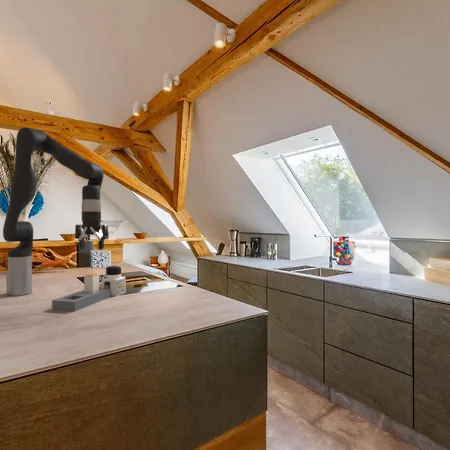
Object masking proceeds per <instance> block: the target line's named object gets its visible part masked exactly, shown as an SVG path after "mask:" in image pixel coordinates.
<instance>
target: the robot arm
mask: <svg viewBox="0 0 450 450" xmlns="http://www.w3.org/2000/svg"><path fill="white" fill-rule="evenodd" d="M33 151H35V152H43V153H46V154H49V155H50V156H52V157H53V158H54V159H55V160H56V161H57V162H58V163H59V164H60V165H62V166H63V167H66V168H67V169H69V170H70V171H72V172H74V173H75V175H77V176H78V177H80V178H82V179H84V180H88V181H87V185H83V187H82V188H81V222H82V224H81V223H80V224H75V230H74V238H75V240H79V249H80V250H85V249H86V238H87V237H88V236H95V237H96V238H97V239H98V241H97V242H98V245H97V246H98V247H97V248H98V250H99V251H100V250H101V251H102V250H104V247H105V240H107V239H109V226H108V224H101V222H102V204H101V188H102V185H103V180H104V174H105V173H104V170H103V168H102V166H101V165H100V164H98V163H93V162H89V161H88V160H86V159H84V158H83V157H82V156H81V155H80V154H78V153H76V152H74V151H72V150H70V149H68V148H66V147H65V146H63V145H61V144H60V143H59V142H57V141H56V140H54V139H53V138H52V137H51V136H49V135H48V134H47V133H45V132H44V131H42V130H40V129H36V128H30V127H27V126H26V127H21V128H20V129H19V130H18V132H17V134H16V139H15V159H14V162H15V163H14V168H13V170H14V171H13V175H12V181H11V185H10V186H11V187H10V195H9V203H8V207H7V212H6V216H5V219H4V223H3V227H2V237H3V239H4V241H6V242H8V243H9V242H10V243H13V242H14V243H15V242H17V243H18V242H19V244H18V245H16V247H14V248H11V249H9V250H8V251H7V273H6V274H5V275H6V276H5V277H6V278H5V279H6V295H8V296H11V297H12V296H13V297H14V296H15V297H16V296H25V295H29V294H32V293H33V260H32V258H33V257H32V253H33V249H34V248H33V247H34V227H33V226H34V225H33V224H32V223H31V222H30V221H27V220H23V221H22V220H21V221H19V218H20V216H21V214H22V212H23V210H24V209H25V208H26V207H27V206H28V205H29V204H30V202H31V201H33V199H34V198H35V196H36V190H37V185H38V181H37V175H36V174H35V171H34V168H33V165H32V154H33Z"/></svg>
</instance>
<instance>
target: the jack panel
mask: <svg viewBox="0 0 450 450" xmlns="http://www.w3.org/2000/svg"><path fill="white" fill-rule="evenodd" d="M109 298H111V296H110V289H101V288H100V287H99V291H97V292H95V293H85V291H84V289H83V290H80V291H76V292H73V293H71V294H66V295H64V296H60V297H59V298H54V299H52V300H51V310H52V311H64V312H77V311H81V310H83V309H85V308H87V307H90V306H92V305H94V304H97V303H99V302H102V301H104V300H107V299H109Z"/></svg>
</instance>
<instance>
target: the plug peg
mask: <svg viewBox="0 0 450 450" xmlns="http://www.w3.org/2000/svg"><path fill="white" fill-rule="evenodd" d="M99 279H100V275H99V274H98V273H89V274H88V273H87V274H85V276H84V280H83V282H84V284H83V287H84V288H83V290H84V291H85V293H95V292H97V291H99V288H100V280H99Z"/></svg>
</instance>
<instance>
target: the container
mask: <svg viewBox="0 0 450 450" xmlns="http://www.w3.org/2000/svg"><path fill="white" fill-rule="evenodd" d="M126 280H127V279H126V276H122V267H121V266H120V265H109V266H107V267H106V268H105V278H102V279H101V281H100V282H101V288H100V289H110V297H118V296H120V295H121V296H122V295H123V294H125V293H126V292H127V291H126V285H127V284H126Z"/></svg>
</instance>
